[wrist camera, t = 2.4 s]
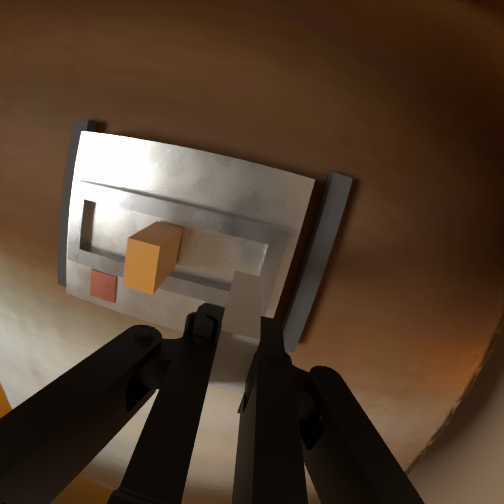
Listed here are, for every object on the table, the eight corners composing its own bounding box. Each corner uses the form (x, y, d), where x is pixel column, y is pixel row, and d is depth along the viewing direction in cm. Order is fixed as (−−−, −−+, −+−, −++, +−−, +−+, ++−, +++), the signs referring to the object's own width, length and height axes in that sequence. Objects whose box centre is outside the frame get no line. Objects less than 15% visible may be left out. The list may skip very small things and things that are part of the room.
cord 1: (84, 121, 23) (75, 119, 21) (97, 122, 23) (88, 120, 21) (66, 278, 27) (57, 284, 25) (77, 282, 27) (69, 288, 26)
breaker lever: (156, 221, 21) (127, 237, 16) (182, 227, 21) (160, 246, 16) (150, 260, 21) (122, 285, 17) (175, 266, 22) (153, 294, 17)
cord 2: (329, 171, 23) (334, 172, 22) (347, 177, 23) (353, 178, 22) (276, 339, 28) (277, 348, 26) (292, 342, 28) (294, 352, 26)
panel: (105, 134, 23) (75, 130, 18) (306, 177, 24) (317, 180, 19) (87, 277, 27) (60, 297, 22) (262, 327, 28) (262, 358, 23)
